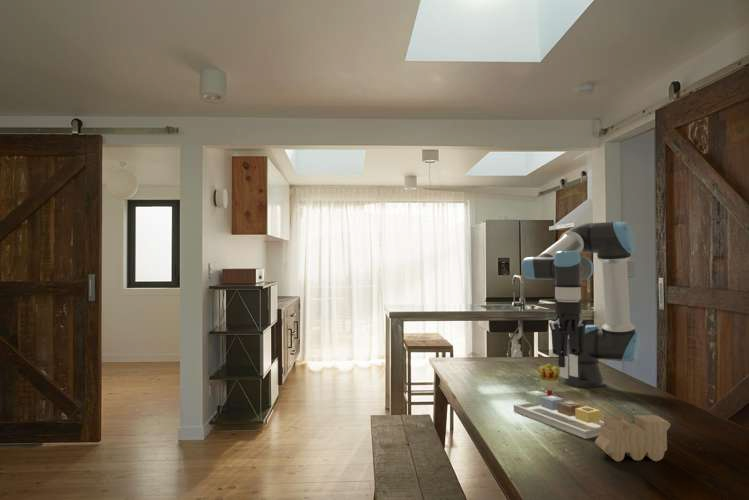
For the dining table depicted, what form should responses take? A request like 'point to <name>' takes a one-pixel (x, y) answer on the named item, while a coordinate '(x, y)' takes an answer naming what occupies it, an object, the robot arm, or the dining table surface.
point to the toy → (549, 378)
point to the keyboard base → (560, 420)
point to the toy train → (634, 437)
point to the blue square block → (551, 402)
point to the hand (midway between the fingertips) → (568, 376)
